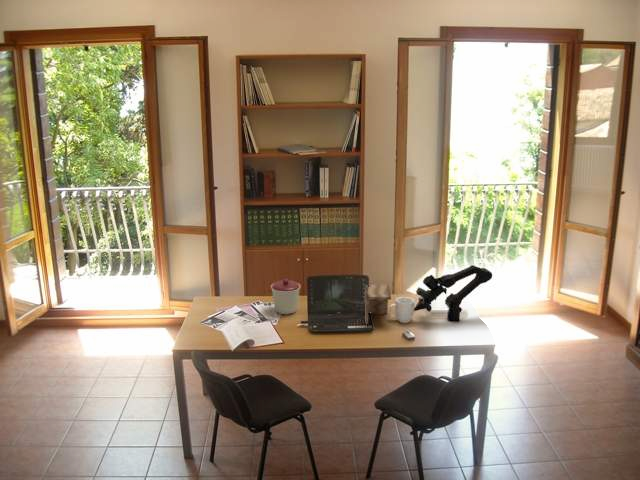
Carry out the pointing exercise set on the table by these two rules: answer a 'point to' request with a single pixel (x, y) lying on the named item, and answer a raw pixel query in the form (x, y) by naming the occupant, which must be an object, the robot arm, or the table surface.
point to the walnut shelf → (376, 299)
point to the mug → (403, 309)
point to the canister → (285, 296)
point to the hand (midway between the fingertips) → (414, 310)
